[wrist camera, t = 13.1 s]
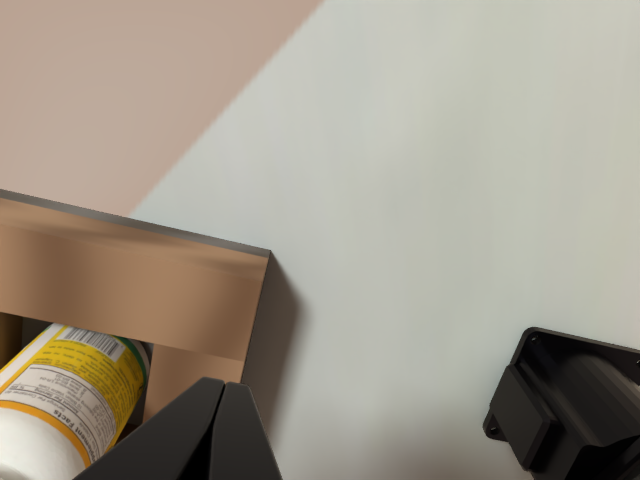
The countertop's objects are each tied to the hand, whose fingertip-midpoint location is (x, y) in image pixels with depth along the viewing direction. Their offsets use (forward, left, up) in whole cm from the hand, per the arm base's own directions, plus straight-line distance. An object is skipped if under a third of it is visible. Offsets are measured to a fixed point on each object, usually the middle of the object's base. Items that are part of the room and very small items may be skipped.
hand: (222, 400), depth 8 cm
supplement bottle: (+7, +9, -12) cm, 17 cm away
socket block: (+7, +9, -13) cm, 17 cm away
